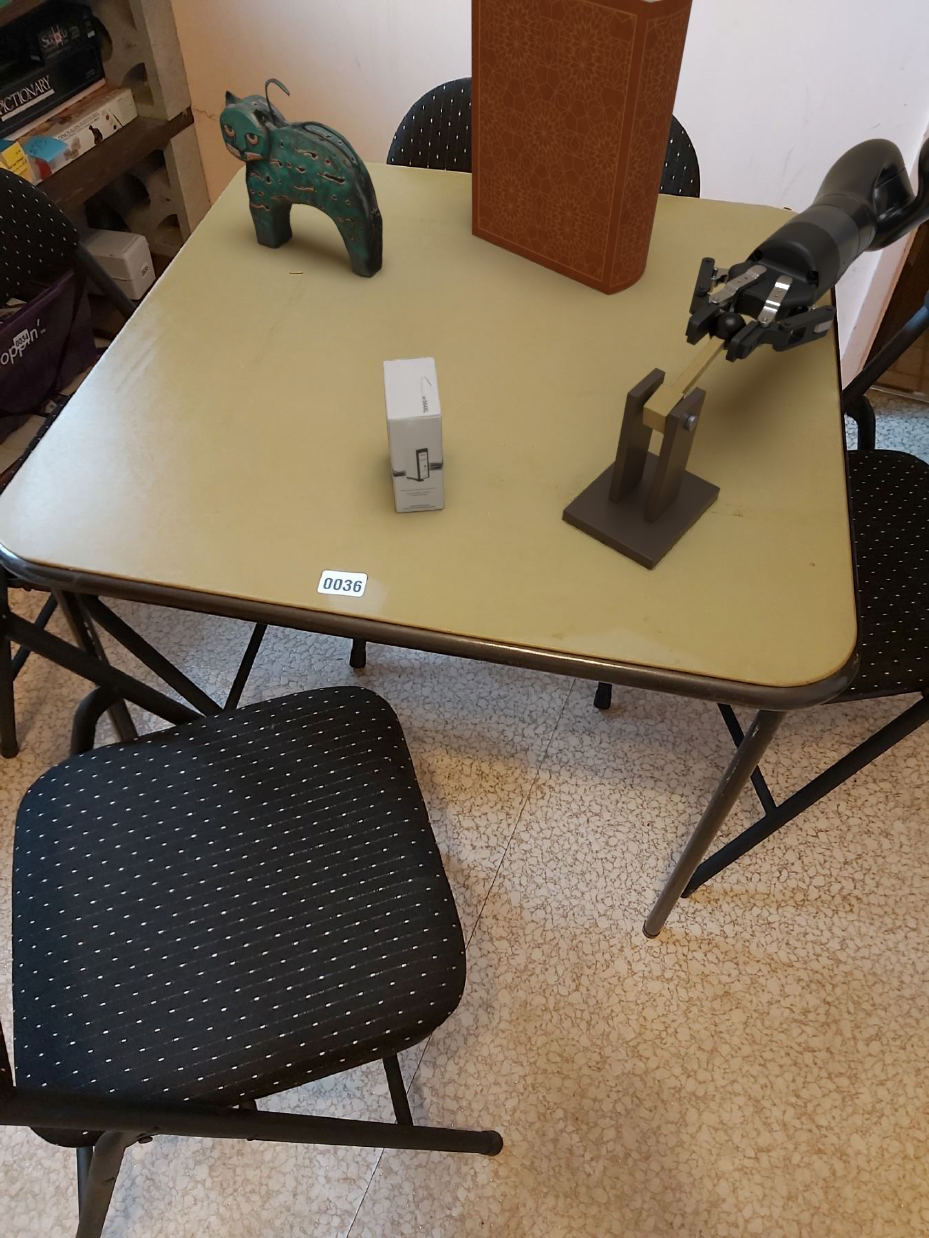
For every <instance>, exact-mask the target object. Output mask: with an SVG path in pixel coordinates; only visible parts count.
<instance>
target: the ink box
mask: <svg viewBox="0 0 929 1238" xmlns="http://www.w3.org/2000/svg"><path fill="white" fill-rule="evenodd" d="M382 371H383V391H384V393H383V394H384V404H385V405H384V407H385V409H384V410H385V421H386V422H385V423H386V432H387V433H386V434H387V443H388V453H389V462H390V470H391V478H392V487H393V496H394V505H395V506H394V507H395V511H396V512H397V513H410V512H411V513H412V512H425V511H435V510H444V509H445V484H444V481H445V479H444V445H443V443H444V441H443V420H442V419H443V418H442V417H443V415H442V414H443V413H442V405H441V399H440V391H439V384H438V377H437V376H438V375H437V368H436V359H435V358H434V356H431V355H430V356H420V357H419V356H418V357H406V358H405V357H403V358H395V359H386V360H383V361H382Z"/></svg>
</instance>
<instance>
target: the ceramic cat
mask: <svg viewBox="0 0 929 1238" xmlns="http://www.w3.org/2000/svg"><path fill="white" fill-rule="evenodd" d="M271 83H273V84H274V85H276V86H277V87H279V89H281V90H282V92H284V93H285V94H286V95H287V96H288V97H290V95H291V94H290V91H289V90H288V88H287V87H286V85H284V83H282V82H281V80H279V79H277V78H269V79H267V80H266V81H265V84H264V91H265V92H264V93H265V97H264V96H262V95H260V94H251V95H248V96H245V97H243V98H240V97H238V96H237V95H235V94H234V93H233V92H232V91H230V90H229V89H228V90H227V89H226V90H225V95H224V97H225V99H224V100H225V101H224V103H225V107H224V108H223V110H222V112H221V113H220V115H219V127H220V131H221V135H222V139H223V141H224V144H225V148H226V150H227V151H228V152H229V154H231V155H232V156H233V157H234V158H236V159H237V160H239V161H241V162H244V163H245V178H244V180H245V185H246V190H247V195H248V209H249V212H250V215H251V219H252V222H253V226H254V230H255V236H256V240H257V244H260V245H263V246H265V247H268V248H271V249H276V248H279V247H281V246H283V245H284V244H286V243H288V241H289V240H291V239H293V236H294V233H293V228H292V224H291V211H292V207H293V205H304V206H308V207H312V208H314V209H317V210H319V211H320V212H322V213H323V214H325V215H326V216H327V217H329V218H330V219H331V220H332V222H333V223H334V224H335V227H336V228H337V230H338V233H339V235H340V236H341V238H342V241H343V244H344V247H345V250H346V252H347V255H348V258H349V261H350V265H351V269H352V272H353V273H354V274H356V275H357V276H362V277H367V278H371V277H372V276H374V275H375V274H376V273H377V272H378V271H379V270H380V269H381V268H383V250H384V249H383V248H384V238H383V235H384V221H383V220H384V219H383V216H382V213H381V210H380V207H379V202H378V198H377V194H376V190H375V187H374V184H373V180H372V177H371V175H370V173H369V170H368V168H367V166H366V165H365V162H364V161H363V160H362V158H361V157H360V155H359V154H358V153H357V152H356V150H355V148H354V147H353V146H352V145H351V143H350V142H349V140H348V139H347V138H346V137H345V136H344V135H343V134H341V133H340V132H338V131H337V130H336V129H334V128H332V127H330V126H328V125H327V124H324V123H322V122H318V121H315V120H313V121H312V120H310V121H288V120H287V119H286V118H285V117H284V115H283V113H282V112H281V111H280V110H279V109H278V107H276V105H275V104H274V103H272V101H271V100H270V99H269V95H268V86H269V85H270V84H271Z"/></svg>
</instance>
